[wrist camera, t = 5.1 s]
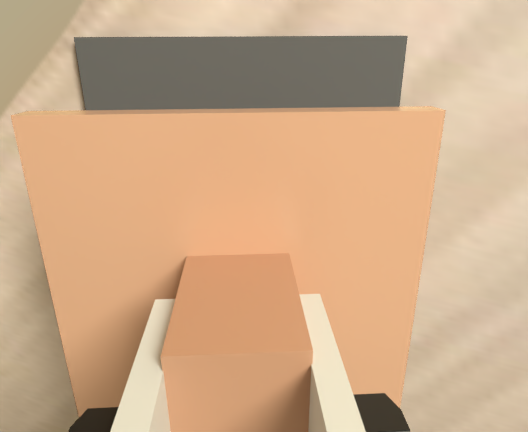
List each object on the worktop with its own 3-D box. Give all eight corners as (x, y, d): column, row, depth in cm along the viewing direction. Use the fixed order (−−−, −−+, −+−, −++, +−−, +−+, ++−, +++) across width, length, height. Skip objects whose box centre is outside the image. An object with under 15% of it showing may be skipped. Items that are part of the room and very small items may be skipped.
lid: (92, 420, 18) (25, 587, 12) (27, 111, 13) (-133, 155, 7) (389, 406, 18) (454, 559, 13) (431, 106, 14) (564, 143, 8)
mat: (124, 325, 27) (122, 331, 26) (78, 37, 20) (73, 37, 20) (371, 318, 27) (374, 324, 27) (403, 36, 21) (407, 35, 20)
